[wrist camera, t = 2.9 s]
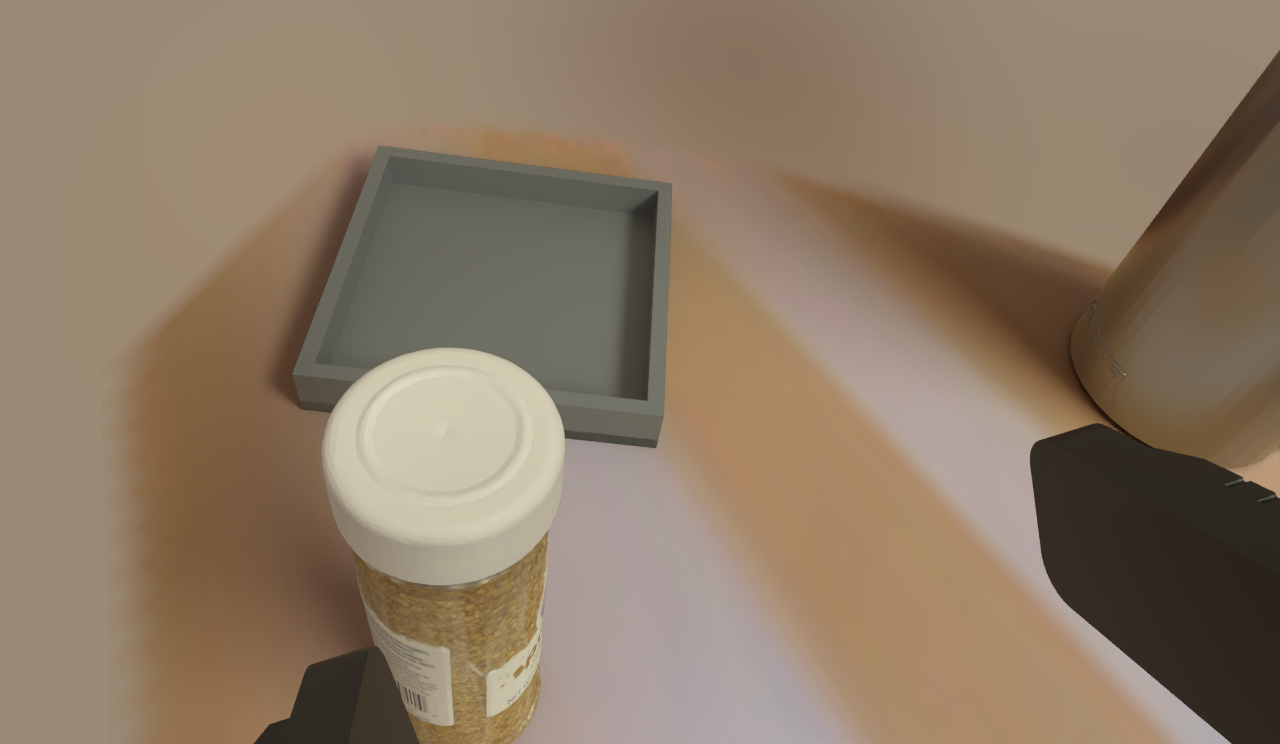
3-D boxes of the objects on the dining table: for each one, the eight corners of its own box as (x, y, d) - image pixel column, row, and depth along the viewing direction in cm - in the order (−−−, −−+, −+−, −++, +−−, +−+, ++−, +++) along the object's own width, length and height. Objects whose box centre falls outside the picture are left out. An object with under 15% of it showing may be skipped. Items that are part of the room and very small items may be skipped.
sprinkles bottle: (562, 730, 27) (604, 493, 16) (409, 793, 25) (349, 574, 15) (511, 596, 29) (519, 315, 19) (368, 645, 28) (293, 369, 17)
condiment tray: (665, 217, 42) (672, 183, 40) (655, 447, 34) (663, 416, 32) (383, 181, 41) (378, 145, 39) (301, 408, 33) (291, 374, 31)
